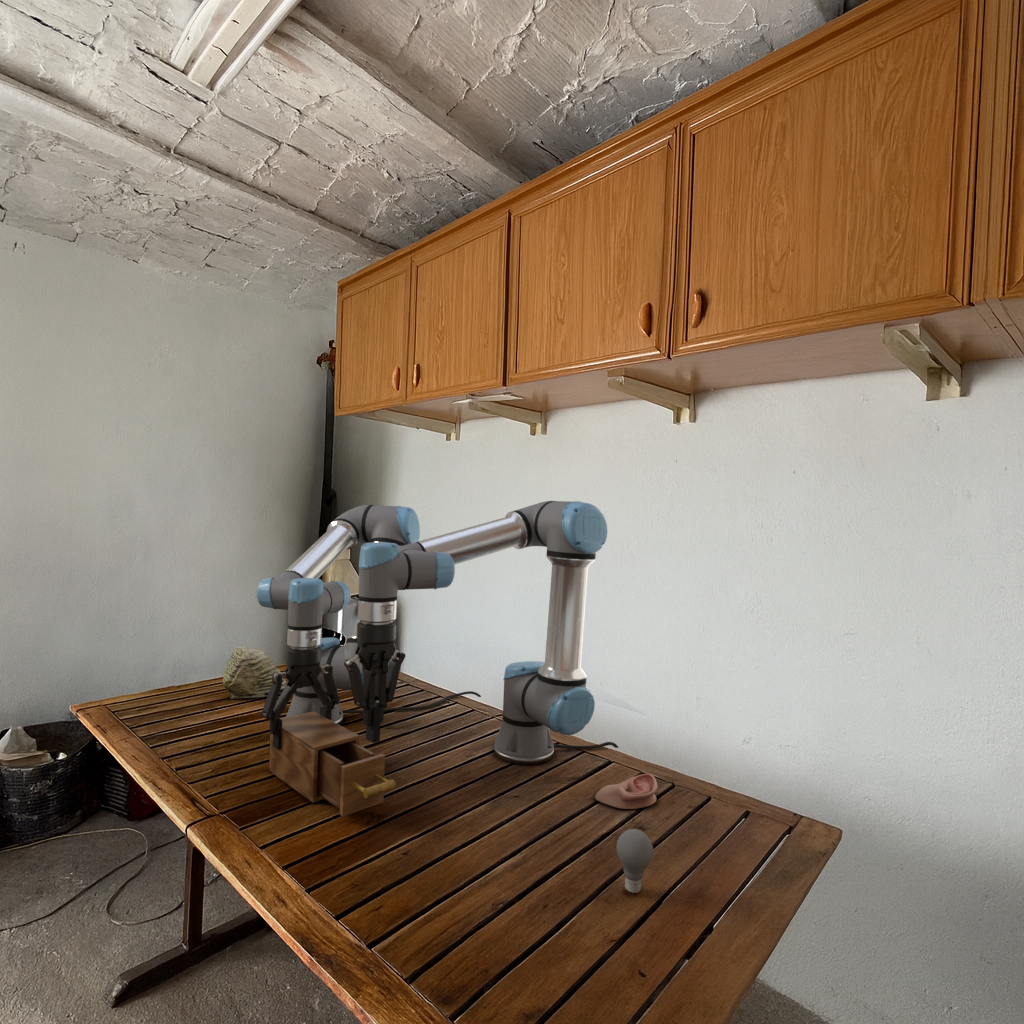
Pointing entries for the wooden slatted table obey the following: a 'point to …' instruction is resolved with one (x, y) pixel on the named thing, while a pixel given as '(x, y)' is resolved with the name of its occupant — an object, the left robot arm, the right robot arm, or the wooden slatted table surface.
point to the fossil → (249, 673)
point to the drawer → (351, 777)
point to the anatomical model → (630, 793)
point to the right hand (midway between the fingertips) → (372, 740)
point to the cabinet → (305, 750)
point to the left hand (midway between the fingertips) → (300, 741)
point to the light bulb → (634, 857)
